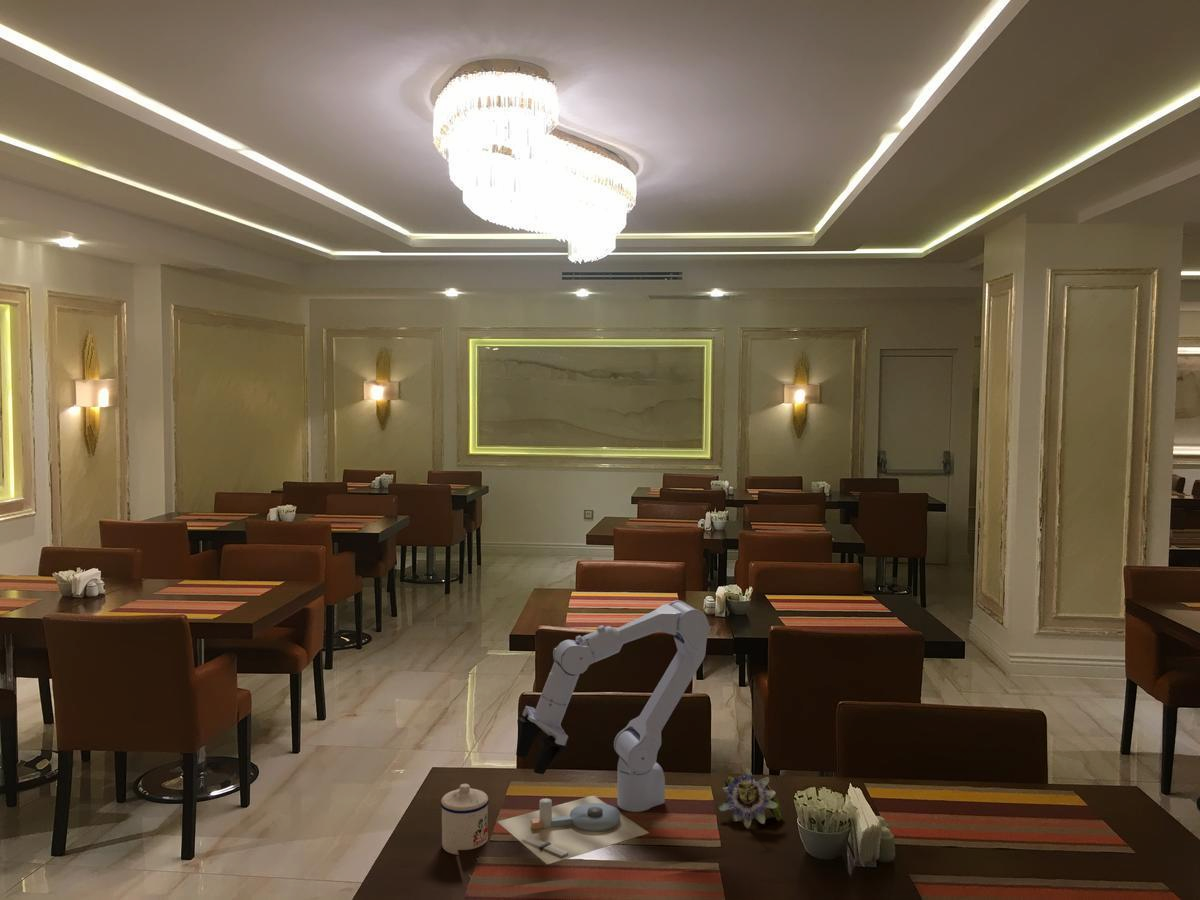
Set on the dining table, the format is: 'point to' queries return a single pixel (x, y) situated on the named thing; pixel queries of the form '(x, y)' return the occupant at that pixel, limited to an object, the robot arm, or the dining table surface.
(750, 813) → the passion flower
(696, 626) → the robot arm
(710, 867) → the dining table surface
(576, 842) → the cream flat board
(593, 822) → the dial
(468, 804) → the teacup with lid
